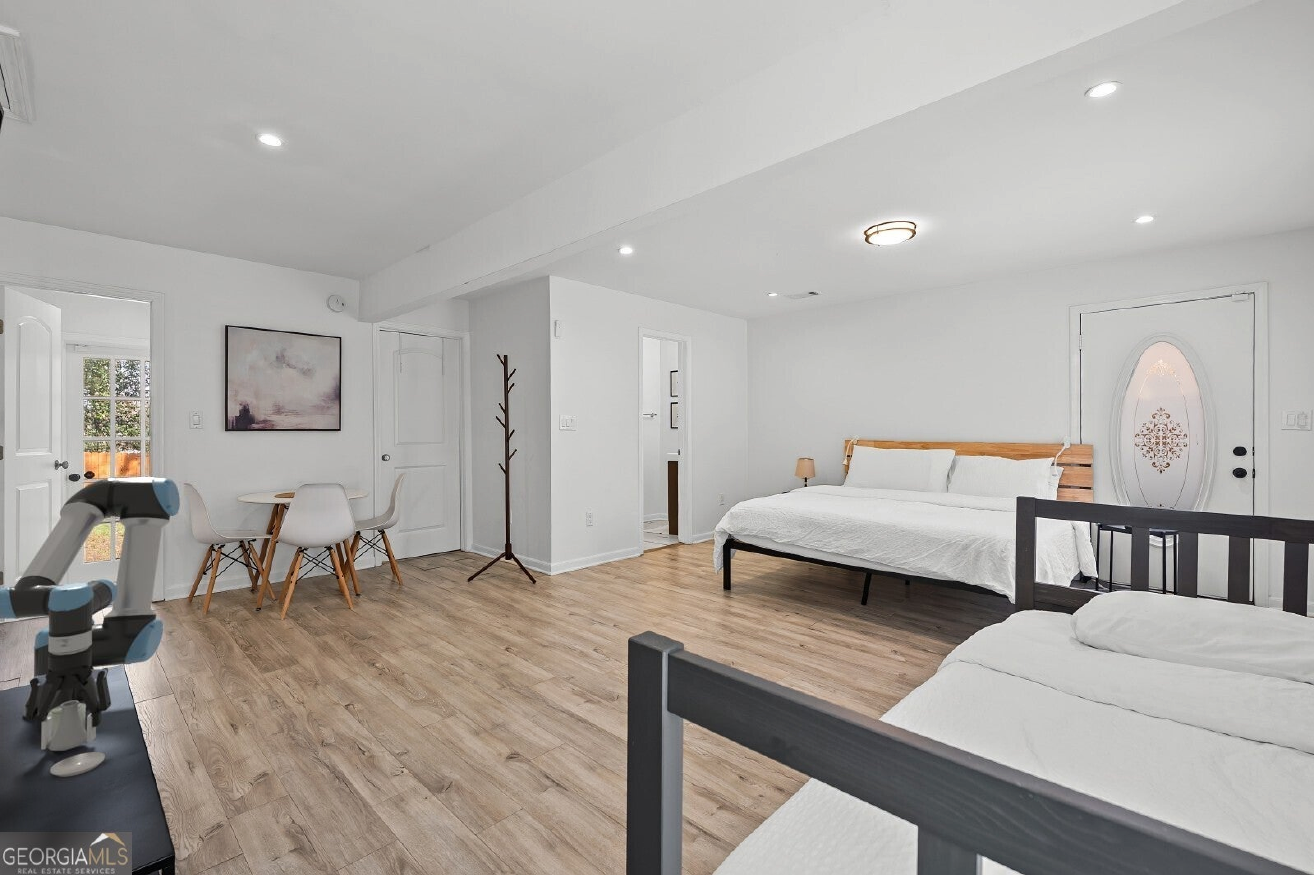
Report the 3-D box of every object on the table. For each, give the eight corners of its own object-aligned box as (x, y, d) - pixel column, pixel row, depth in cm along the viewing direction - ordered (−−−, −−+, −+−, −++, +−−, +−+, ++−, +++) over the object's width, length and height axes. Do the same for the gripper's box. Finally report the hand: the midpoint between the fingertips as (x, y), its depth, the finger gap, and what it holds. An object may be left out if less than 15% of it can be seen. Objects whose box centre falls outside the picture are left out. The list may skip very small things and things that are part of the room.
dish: (61, 761, 140) (62, 756, 140) (111, 754, 143) (111, 749, 143) (41, 782, 132) (41, 777, 132) (94, 774, 135) (95, 768, 135)
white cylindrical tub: (54, 731, 153) (55, 703, 153) (90, 726, 156) (90, 699, 156) (40, 744, 147) (41, 715, 147) (77, 739, 150) (78, 710, 150)
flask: (63, 754, 141) (63, 712, 140) (39, 749, 142) (40, 708, 142) (97, 738, 148) (98, 698, 147) (74, 734, 149) (75, 695, 149)
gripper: (3, 661, 137) (2, 759, 137) (118, 649, 145) (116, 743, 146) (22, 649, 144) (20, 743, 144) (130, 639, 152) (128, 728, 152)
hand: (69, 743), depth 145 cm, fingers closed on flask, 7 cm apart
